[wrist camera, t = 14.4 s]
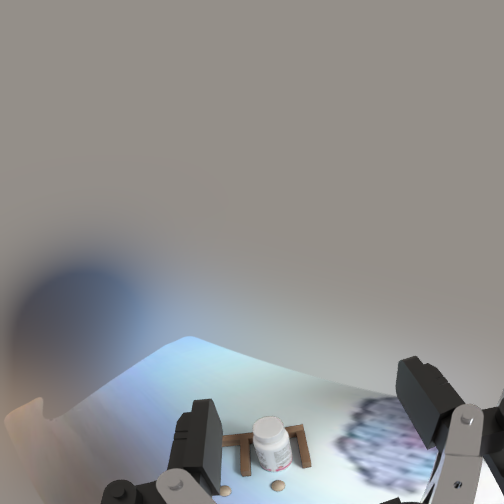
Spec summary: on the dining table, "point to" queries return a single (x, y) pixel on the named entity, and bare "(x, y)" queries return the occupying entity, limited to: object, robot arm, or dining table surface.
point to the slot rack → (245, 461)
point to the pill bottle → (272, 444)
